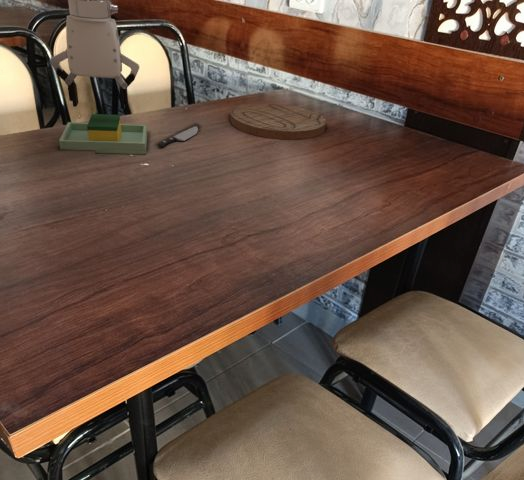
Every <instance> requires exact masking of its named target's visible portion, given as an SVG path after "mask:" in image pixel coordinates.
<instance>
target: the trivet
mask: <svg viewBox="0 0 524 480" xmlns="http://www.w3.org/2000/svg"><path fill="white" fill-rule="evenodd" d="M230 124H231V125H232V126H233V127H234V128H235V129H237V130H239V131H241V132H244V133H246V134H250V135H253V136H257V137H262V138H267V139H275V140H305V139H311V138H315V137H318V136H321V135H322V134H323V133H324V132H326V124H327V120H326V118H325V117H324V115H322V114H320V113H318V112H316V111H314V110H311V109H308V108H304V107H301V106H295V105H292V104H283V103H269V102H260V103H259V102H257V103H247V104H242V105H239V106H236V107H235V108H233V109H231V111H230Z"/></svg>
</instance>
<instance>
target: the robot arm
mask: <svg viewBox="0 0 524 480" xmlns="http://www.w3.org/2000/svg"><path fill="white" fill-rule="evenodd" d="M67 3H68V10H69V15H66V23H65V35H66V36H65V37H66V39H65V40H66V49H65V50H63V51H61V52H59V53H57V54H55V55H54V56H52V57H50V58H49V63H50V65H51V67H52V68H53V70H54V71H55V72H56V75H57V76H58V77H59V78H60V79H61V80H62V82H64V84H65V85H67V94H68V100H69V101H70V102H72V107H75V108H76V107H77V106H78V105H79V94H78V87H77V83H76V82H75V79H76V78H77V76H78V77H88V78H89V77H90V78H102V79H115V81H116V82H117V83H118V85H119V90H118V91H119V102H120V103H119V104H120V109H121V110H123V111H124V110H125V109H126V105H127V106H128V105H129V97H128V96H129V95H128V88H129V86H131V84H132V83H133V82H134V81H135V80H136V77H137V75H138V72H139V70H140V64H138V63H137V62H136V61H134V60H132V59H131V58H129V57H128V56H126V55H124V54H123V53H122V51H121V43H120V37H119V36H120V35H119V30H118V26H117V21H116V19H114V18H112V16H113V15H114V14H119V5H117V4H114V3H112V2H111V0H67ZM65 60H67V63H68V69H69V71H70V72H69V73H67V71H65V69H63V67H62V65H61V62H63V61H65ZM123 65H125V66H127V68H129V69H130V72H129V74H128V75H127V76H126V77H125V76H124V75H123V73H122V71H123Z"/></svg>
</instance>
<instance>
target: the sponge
mask: <svg viewBox="0 0 524 480" xmlns="http://www.w3.org/2000/svg"><path fill="white" fill-rule="evenodd" d="M87 123H88V125H87V129H88V136H89V141H115V142H120V138H121V124H122V123H121V115H120V114H105V113H104V114H102V113H91V115H90V118H89V120H88V122H87Z"/></svg>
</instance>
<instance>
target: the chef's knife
mask: <svg viewBox="0 0 524 480" xmlns="http://www.w3.org/2000/svg"><path fill="white" fill-rule="evenodd" d="M198 131H199V127H198V125H197V126H192V127H189V128H188V129H186V130H184V131H181V132H180V133H177V134H176V135H173V136H171V137H168V138H166V139H164V140H162V141H161V142H159V143H158V144H157V147H158V148H164V147H165V146H167V145H168V144H170V143H173V142H176V141H179V142H185V141H186V140H189V139H190V138H192V137H193V136H196V135H197V133H198Z"/></svg>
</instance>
